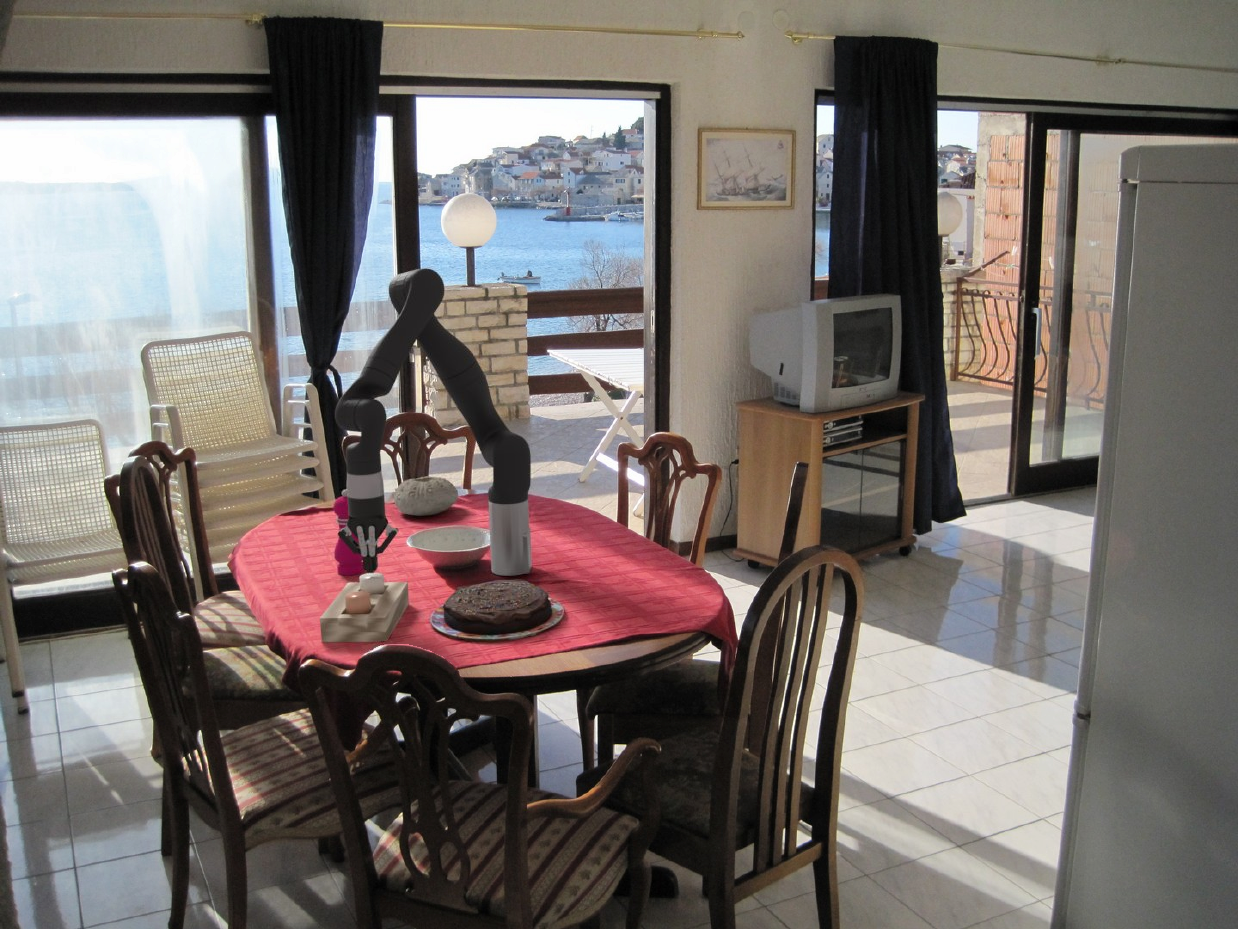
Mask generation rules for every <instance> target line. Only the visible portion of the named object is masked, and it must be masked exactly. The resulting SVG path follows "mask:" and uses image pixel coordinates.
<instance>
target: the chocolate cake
mask: <svg viewBox="0 0 1238 929" xmlns="http://www.w3.org/2000/svg"><path fill="white" fill-rule="evenodd" d="M564 614H565V609H564V607H563V606H562V604H561V603H560V602H559V601H557V599H553V598H552V597H550V596H549V592H548V591H546V590H545V589H544V588H542V587H540V586H539V585H538V586H537V585H535V584H534V583H530V582H529V581H527V580H525V579H520V578H519V579H518V578H517V579H509V580H506V579H495V580H493V581H487V582H483V583H477V584H471V585H470V584H469V585H465V586H464V585H463V586H459V587H456V589H455V590H454V592H453V593H452V594H451V595H450V596H448V598H447V599H446V600H445V601H444V603H443V604H442V605H440V606H438V607H437V608H436V609H435V610H433V611H432V613H431V614H430V616H429V620H430V625H431V627H432V628H433V629H434V630H436V631H438V632H440V633H442V634H444V635H446V636H447V637H448V638H450V639H456V640H457V639H458V640H459V639H463V640H465V641H467V642H475V643H487V644H493V643H498V642H499V643H500V642H506V641H513V640H518V639H525V638H530V637H534V636H536V635H538V634H539V633H542V632H543V631H545V630H547V629H549V628H550V629H551V628H555V627H557V626H558V625H559V623H560V622H561V620H562V619H563V617H564Z"/></svg>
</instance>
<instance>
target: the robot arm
mask: <svg viewBox="0 0 1238 929" xmlns="http://www.w3.org/2000/svg"><path fill="white" fill-rule="evenodd" d="M388 295H389V299H390V302H391V304H392V306H393V308H394V310H395V311H396V312H397V314H398V317H397V318H396V320H395V322H394V323H393V324H392V325H391V326H390V327H389V329H388V330H387V331H386V332H385V333H384V334H383V336H382V337H380V339H379V340H378V341H377V343H376V344H375V346H374V347H373V348H372V350H371V352H370V353H369V355H368V358H367V359H366V362H365V364H364V366H363V368H362V370H361V373H360V375H359V376H358V377H357V378H356V379H355V380H354V381H353V382H352V383H351V385H350V386H349V387H348V389H346V391H345V392H344V393H343V395H341V397H340V398H339V400H338V402H337V404H336V407H335V410H334V419H335V422H336V425H337V426H338V427H339V428H340V429H341V430H344V431H346V432H347V431H348V432H358V433H360V439H359V442H353V443H351V444H349V445H348V446H347V447H346V449H345V463H346V489H345V490H347V498H348V512H349V519H348V521H347V526H346V527H344V528H342V529H341V530H340V531H339V530H338V532H337V536H338V538H339V537H340V538H341V539H342V540H343V542H344V543H345V544H346V545H347V546H348V547H349V548H350V549H351V551H352V552H353V553H354V554H360V555H362V558H363V560H362V562H363V569H364V572H366V573H365V574H367V573H376V571H377V569H378V568H379V561H378V556H379V554H383V553H384V552H385V550H386V549H387V548H388V546H389V545H390V544H391V542H392V541H393V540H394V538H395V537H396V536H397V534H398V533H399V531H400V530H399V528H398V527H393V526H392V525H390V524H389V520H388V518H387V516H386V505H385V504H386V502H385V487H384V486H385V485H384V477H383V473H382V472H383V471H382V459H381V458H382V457H381V451H382V445H383V440H384V435H385V431H386V427H387V417H388V416H387V411H386V409H385V406H384V404H383V403H382V402H381V401H380V400H378V399H377V398H380V397H384V396H387V395H389V393H390V392H391V390H393V387H394V384H395V382H396V380H397V379H398V376H399V374H400V372H401V369H402V367H403V366H404V363H405V361H406V359H407V358H408V355H409V353H410V352H411V350H412V348H413V347H414V345H415V343H416V341H417V343H418V344H419V345H420V347H421V349H422V351H423V352H424V355H426V357H427V359H428V360H429V362H430V363H431V365H432V368H434V371H435V372H436V374H437V376H438V378H439V380H440V381H441V383H442V385H443V387H444V389H445V390H446V392H447V393H448V395H449V397H450V398H451V399H452V401H453V404H455V406H456V408H457V409H458V411H459V413H460V414H461V415H462V417H463V418H464V420H465V421H466V422H467V424H468V427H469V428H470V430H471V432H472V433H471V434H472V435H473V437H474V439H475V442H476V444H477V446H478V449H479V451H480V453H481V455H482V458H483V459H484V460H485V462H486V463H487V465H489V466H490V467H492V480H493V482H492V485H491V486H490V487H489V488H488V490H487V499H488V524H489V545H490V566H491V571H490V572H492V573H493V574H495V575H496V576H497V575H498V576H506V577H507V576H510V577H511V576H519V575H523V574H526V575H527V574H530V572H531V569H532V565H533V564H532V563H533V562H532V538H531V537H532V536H531V533H532V532H531V527H530V519H529V518H530V517H529V516H530V515H529V492H530V488H531V484H532V482H531V480H532V478H531V477H532V476H531V475H532V474H531V472H532V467H531V466H532V460H531V458H532V457H531V449H530V445H529V444H528V441H527V440H526V438H524V437H523V436H521V435H519V434H518V433H515V432H513V431H511V430H510V428H508V427H507V425H506V423H505V422H504V421H503V419H502V417H500V414H499V413H498V411H497V410H496V408H495V406H494V402H493V400H492V395H491V392H490V391H491V389H490V387H489V382H488V380H487V378H486V374H485V373H484V370H483V369H482V367H481V365H480V363H479V362H478V361H477V358H476V356H475V354H474V353H473V352H472V351H471V350H470V349H469V348H468V346H467V345H466V344H465V343H464V342H462V341H461V339H459V338H457V337H456V336H455V335H454V334H452V333H451V332H450V331H449V330H447V329H446V328H445V327H444V326H443V325H442V323H441V322H440V320H439V319H438V318H437V317H436V315H435V313H436V312H437V309H438V308H439V307H440V305H441V303H442V302H443V299H444V298H445V297H444V296H445V284H444V281H443V278H442V277H441V275H440V274H439V273H438V272H437V271H435V270H434V269H431V268H426V267H425V268H418V269H417V268H416V269H413V270H409V271H406V272H402V273H399V274H397V275H395V276H393V277H392V278H391V279H390V281H389V284H388ZM350 530H351V531H350ZM384 531H385V536H386V538H385V539H384V541H383V542H382V543H381V545H379V539H380V538H381V537H382V534H383V533H384ZM351 532H352V533H353V534H354V535H355V536H356V538H357V539H359V544H358V543H357V542H356V540H355V539H354V538H353V537H352V536H351Z"/></svg>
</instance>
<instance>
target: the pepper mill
mask: <svg viewBox="0 0 1238 929" xmlns="http://www.w3.org/2000/svg"><path fill="white" fill-rule="evenodd" d="M341 495H342V496H340V497H337V498H336V499H335V501H334V503H333V512H334V514H335V515H337V516H336V518H335V519H336V524H338V532H339V531H340V530H341V529H342V528H344V527H346V526H347V521H348V519H349V512H348V498H347V490H346V489H343V490H342V491H341ZM350 531H351V530H350ZM351 536H352V537H353V538H354V539H355V540H356V542H357V543H358V544H359V539H357V538H356V536H355V535H354V534H353V533H352V532H351ZM333 557H334V559H335V561H337V563H338V564H337V565H336V566H337V574H338V575H341V576H344V577H345V576H357V575H360V574H362V573H364V572H365V571H364V569H363V558H362V555H360V554H354V553H353V552H352V551H351V549H350V548H349V547H348V546H347V545H346V544H345V543H344V542H343V540H342V539H341V538H340V537H339V536H338V538H337V542H336V545H335V547H334V554H333Z"/></svg>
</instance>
